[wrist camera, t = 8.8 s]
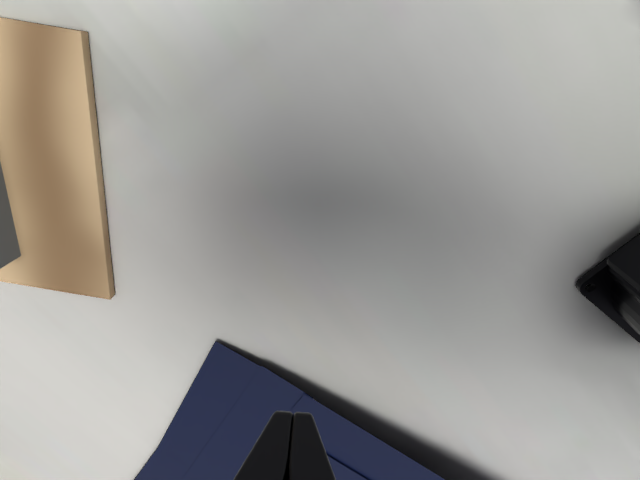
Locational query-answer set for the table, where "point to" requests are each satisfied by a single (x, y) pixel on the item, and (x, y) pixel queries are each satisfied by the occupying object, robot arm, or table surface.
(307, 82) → the table surface
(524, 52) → the table surface
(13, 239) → the gray rectangular block
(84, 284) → the wooden board
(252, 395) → the navy blue placemat
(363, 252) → the table surface
